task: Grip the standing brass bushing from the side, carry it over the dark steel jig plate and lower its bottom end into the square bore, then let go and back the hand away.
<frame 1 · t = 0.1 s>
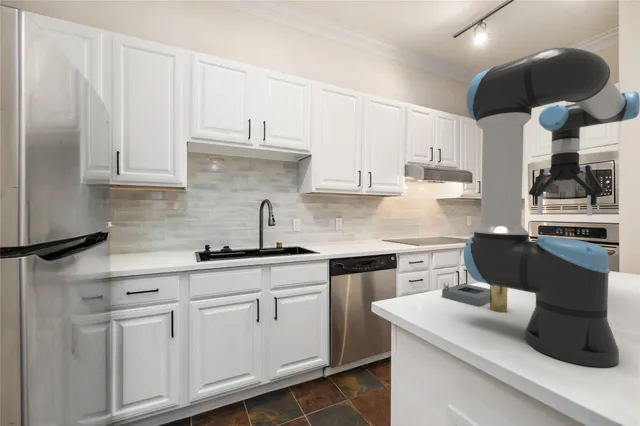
hand: (563, 215, 103), 28 cm above the counter, tool pointing down, fingers open, 13 cm apart
bushing: (498, 309, 87), on the counter
jig: (470, 297, 99), on the counter
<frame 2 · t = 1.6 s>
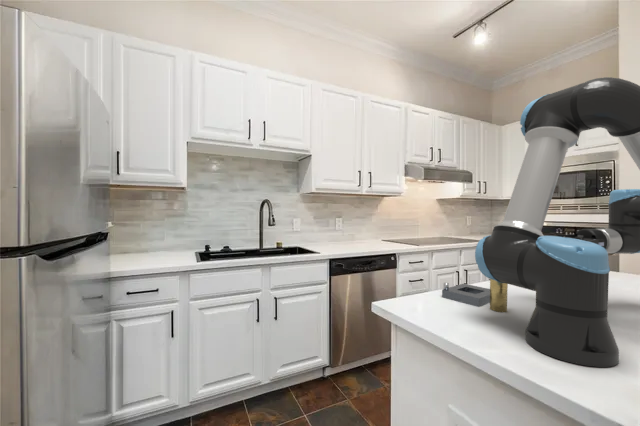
hand: (530, 241, 88), 20 cm above the counter, tool horizontal, fingers open, 13 cm apart
nothing on the counter moved.
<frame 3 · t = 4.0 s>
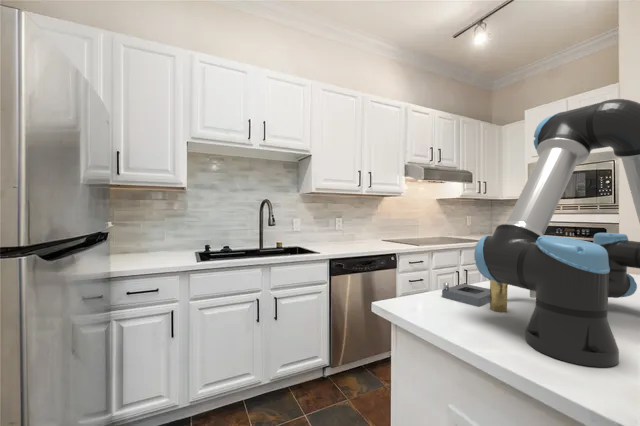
hand: (512, 285, 88), 7 cm above the counter, tool horizontal, fingers open, 13 cm apart
nothing on the counter moved.
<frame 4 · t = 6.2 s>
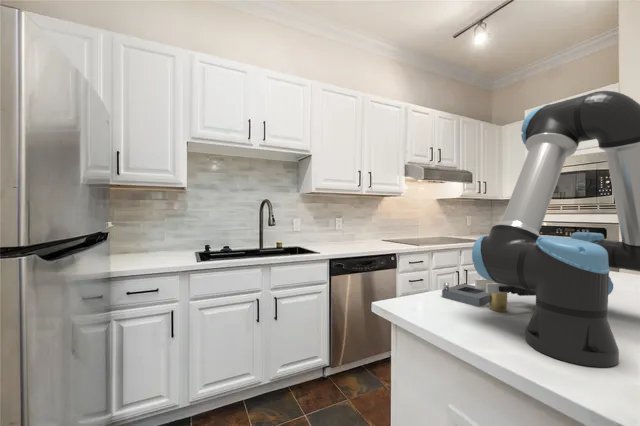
hand: (481, 286, 87), 7 cm above the counter, tool horizontal, fingers closed on bushing, 4 cm apart
bushing: (498, 309, 87), on the counter, touching gripper
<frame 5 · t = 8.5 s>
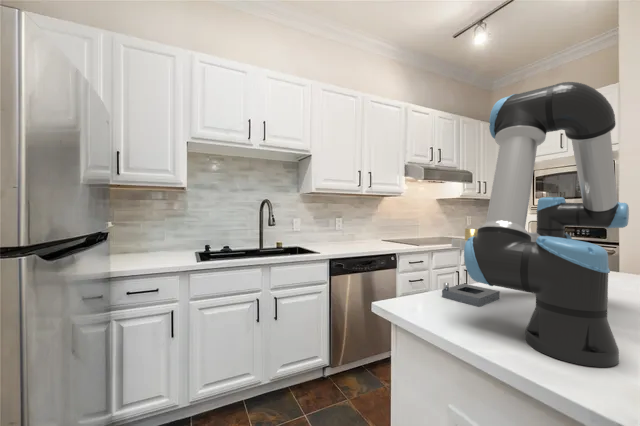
hand: (456, 244, 98), 18 cm above the counter, tool horizontal, fingers closed on bushing, 4 cm apart
bushing: (471, 265, 99), point 11 cm above the counter, touching gripper
when the fingers open (8 cm above the counter, at t = 10.8 s): bushing drops 1 cm, resting in jig.
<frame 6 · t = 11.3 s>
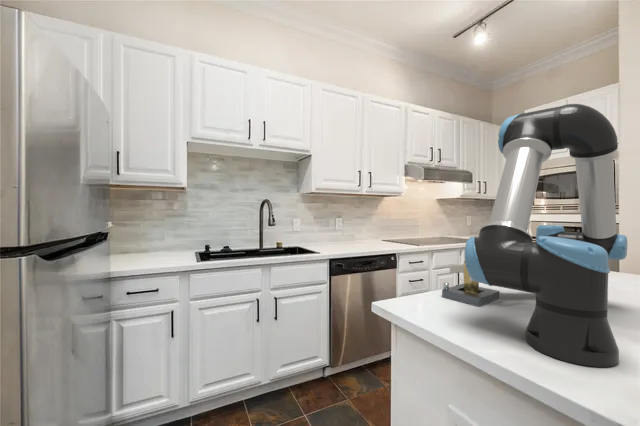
hand: (459, 272, 98), 8 cm above the counter, tool horizontal, fingers open, 11 cm apart
bushing: (470, 297, 99), resting in jig
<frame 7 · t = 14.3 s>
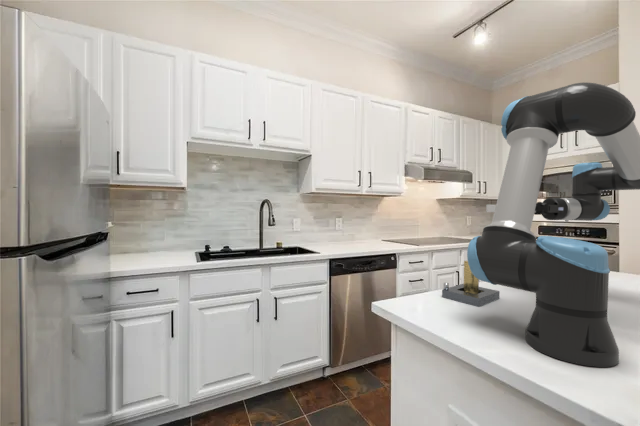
hand: (500, 208, 99), 30 cm above the counter, tool horizontal, fingers open, 13 cm apart
nothing on the counter moved.
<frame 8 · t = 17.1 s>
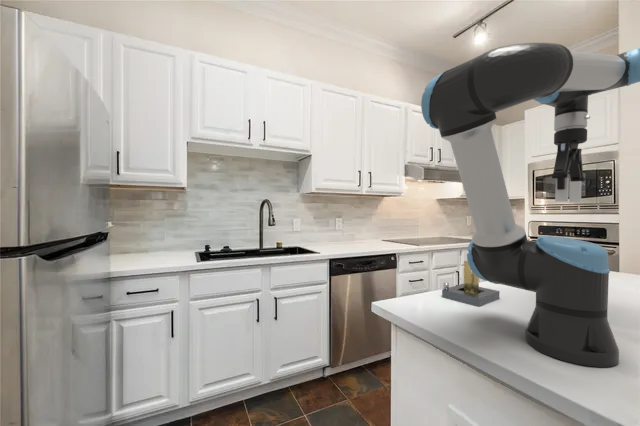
hand: (568, 202, 89), 32 cm above the counter, tool pointing down, fingers open, 13 cm apart
nothing on the counter moved.
at the end: bushing 0.1 cm off-centre on the jig, point 0.0 cm above the jig's base; bushing tilted 0°; the gripper is holding nothing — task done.
